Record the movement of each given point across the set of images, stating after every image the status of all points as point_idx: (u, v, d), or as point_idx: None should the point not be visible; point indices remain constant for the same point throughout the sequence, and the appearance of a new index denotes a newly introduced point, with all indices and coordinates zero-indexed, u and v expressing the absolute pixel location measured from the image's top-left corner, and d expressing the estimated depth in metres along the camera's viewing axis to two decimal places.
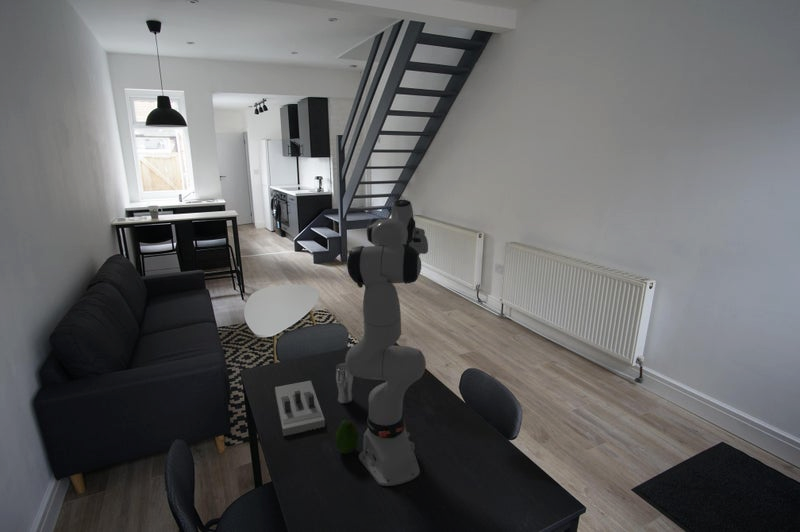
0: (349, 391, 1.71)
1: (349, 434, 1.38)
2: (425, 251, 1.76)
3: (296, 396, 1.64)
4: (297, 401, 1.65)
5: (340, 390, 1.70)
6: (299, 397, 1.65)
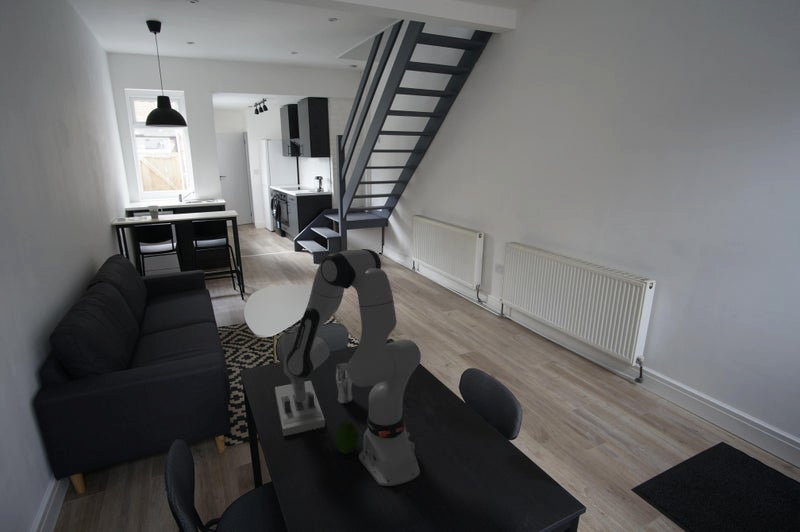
0: (349, 391, 1.71)
1: (349, 434, 1.38)
2: None
3: None
4: None
5: (340, 390, 1.70)
6: None
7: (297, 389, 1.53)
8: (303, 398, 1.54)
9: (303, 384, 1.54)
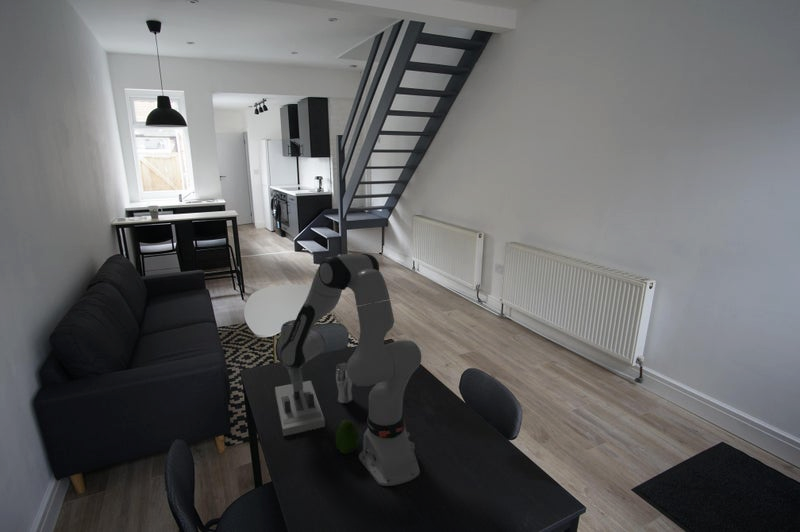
0: (349, 391, 1.71)
1: (349, 434, 1.38)
2: None
3: (294, 392, 1.67)
4: (296, 397, 1.68)
5: (340, 390, 1.70)
6: (298, 393, 1.68)
7: (294, 379, 1.60)
8: (300, 388, 1.61)
9: (300, 374, 1.61)
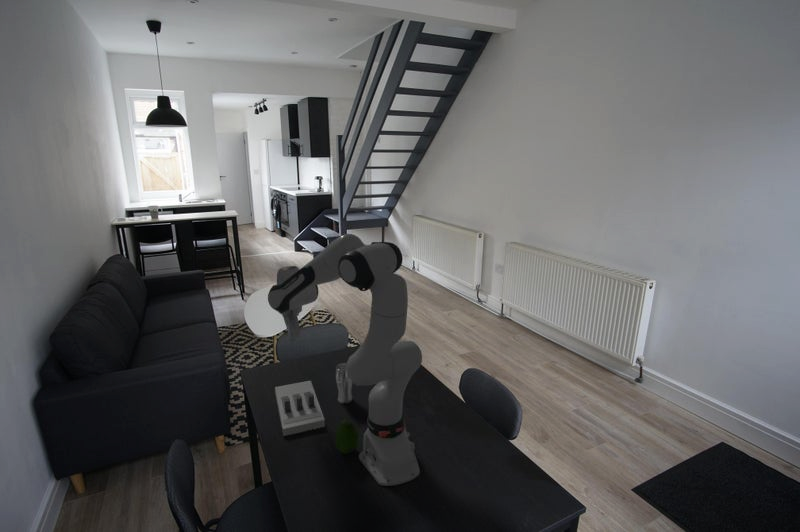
0: (349, 391, 1.71)
1: (349, 434, 1.38)
2: None
3: (297, 402, 1.61)
4: (299, 407, 1.61)
5: (340, 390, 1.70)
6: (301, 402, 1.61)
7: (290, 325, 1.54)
8: (297, 335, 1.55)
9: (297, 321, 1.55)
